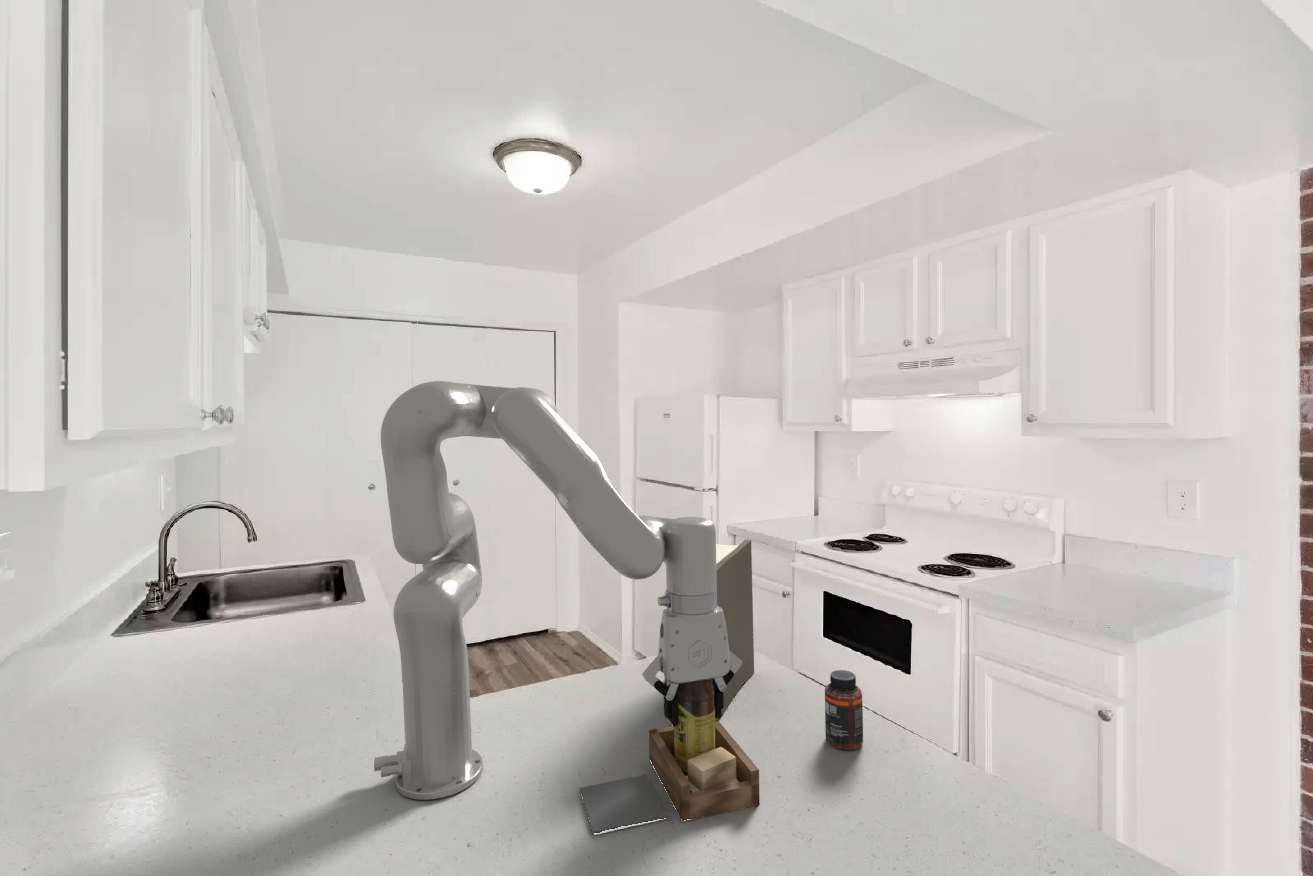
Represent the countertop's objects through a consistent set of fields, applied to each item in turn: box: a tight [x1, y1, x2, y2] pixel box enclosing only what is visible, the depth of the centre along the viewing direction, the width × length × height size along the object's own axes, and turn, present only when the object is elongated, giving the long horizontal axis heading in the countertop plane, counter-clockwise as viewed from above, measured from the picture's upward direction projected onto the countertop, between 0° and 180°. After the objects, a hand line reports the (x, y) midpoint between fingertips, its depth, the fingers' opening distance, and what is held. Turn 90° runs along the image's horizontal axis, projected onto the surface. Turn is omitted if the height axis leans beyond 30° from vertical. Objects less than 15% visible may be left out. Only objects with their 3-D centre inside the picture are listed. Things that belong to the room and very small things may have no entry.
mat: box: [579, 774, 668, 834], centre depth 89 cm, size 10×10×1 cm
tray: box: [648, 718, 760, 822], centre depth 94 cm, size 11×15×5 cm
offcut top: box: [688, 747, 736, 791], centre depth 90 cm, size 6×3×3 cm, turn 123°
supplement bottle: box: [824, 669, 864, 751], centre depth 104 cm, size 6×6×11 cm
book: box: [709, 539, 755, 720], centre depth 123 cm, size 22×9×28 cm, turn 155°
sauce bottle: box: [674, 679, 715, 776], centre depth 96 cm, size 6×6×20 cm
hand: (694, 716), depth 96 cm, fingers closed on sauce bottle, 6 cm apart
